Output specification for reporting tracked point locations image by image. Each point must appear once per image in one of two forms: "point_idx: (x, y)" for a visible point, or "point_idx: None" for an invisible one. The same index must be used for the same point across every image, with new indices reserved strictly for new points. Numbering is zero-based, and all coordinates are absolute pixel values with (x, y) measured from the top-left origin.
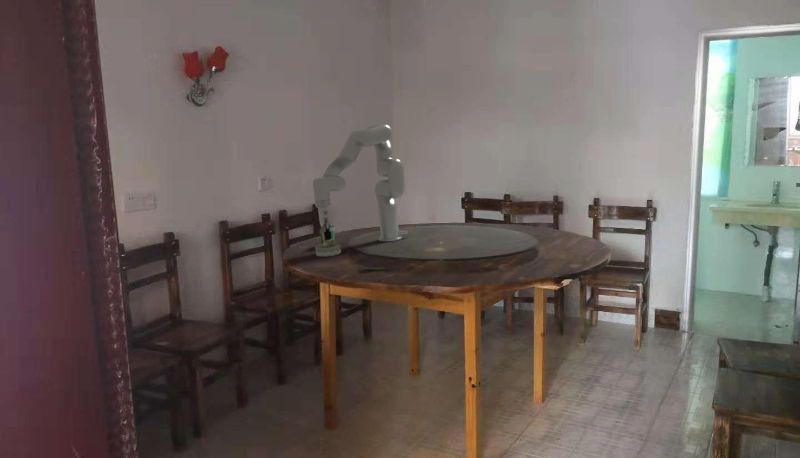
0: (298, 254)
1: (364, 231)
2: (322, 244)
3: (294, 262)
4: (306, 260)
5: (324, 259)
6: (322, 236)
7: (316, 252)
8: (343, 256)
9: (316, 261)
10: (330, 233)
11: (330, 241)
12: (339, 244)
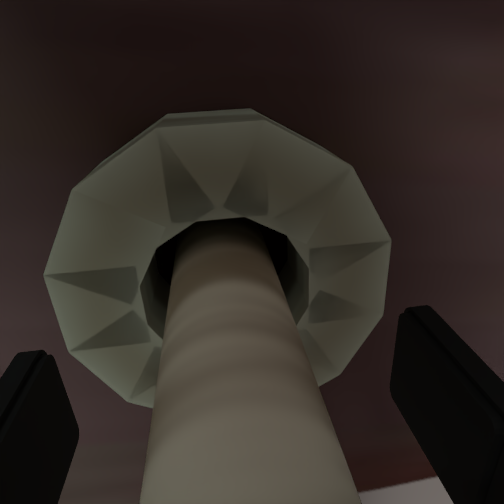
0: (93, 477)
1: None
2: (92, 355)
3: (386, 471)
4: (384, 411)
5: (464, 290)
6: (70, 441)
7: None
8: (489, 104)
9: (484, 347)
10: (496, 385)
11: (273, 289)
12: (248, 132)
